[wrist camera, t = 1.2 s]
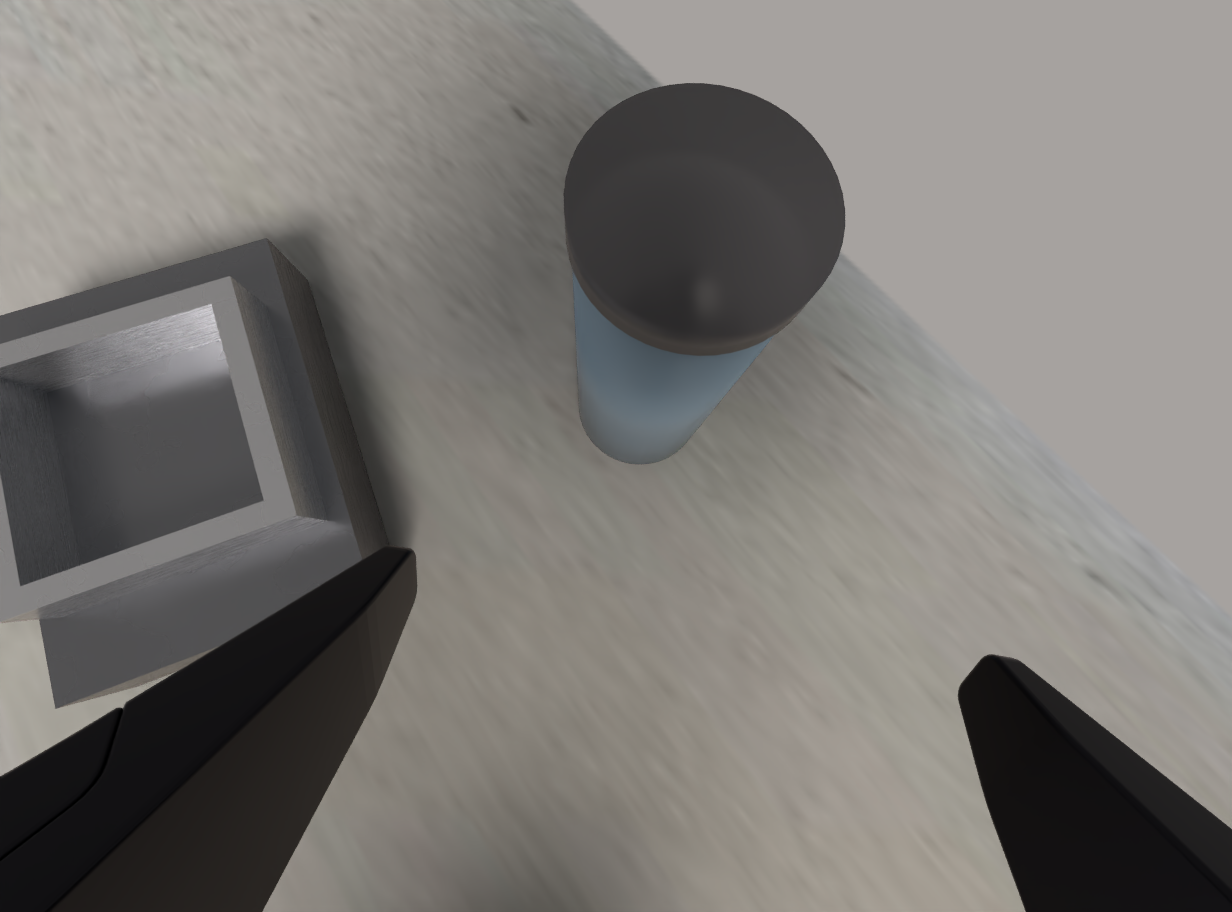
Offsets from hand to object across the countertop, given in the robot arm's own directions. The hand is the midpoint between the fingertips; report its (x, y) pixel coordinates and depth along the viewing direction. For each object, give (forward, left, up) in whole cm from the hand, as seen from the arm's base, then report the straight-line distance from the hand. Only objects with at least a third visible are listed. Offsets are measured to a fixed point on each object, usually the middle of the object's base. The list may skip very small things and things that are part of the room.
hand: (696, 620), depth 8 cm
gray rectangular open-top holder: (-9, +14, -13) cm, 21 cm away
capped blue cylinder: (+5, +5, -13) cm, 15 cm away
